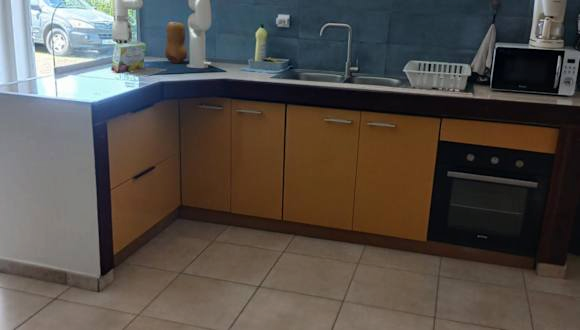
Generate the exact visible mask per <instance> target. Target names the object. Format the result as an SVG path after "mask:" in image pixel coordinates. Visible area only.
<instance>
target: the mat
mask: <svg viewBox="0 0 580 330" xmlns="http://www.w3.org/2000/svg"><path fill="white" fill-rule="evenodd" d="M166 70H167V69H164V68H162V69H161V68H152V67H145V68H144V67H143V69H139V70H132V71H128V72H127V73H126V72H125V75H126V76H128V75H129V76H139V77H140V76H141V77H151V76H154V75H157V74H160V72H161V73H162V72H163V71H164V72H167V71H166ZM164 72H163V73H164Z"/></svg>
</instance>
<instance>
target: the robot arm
mask: <svg viewBox="0 0 580 330" xmlns="http://www.w3.org/2000/svg"><path fill="white" fill-rule="evenodd" d="M112 2H113V3H112V4H113V5H112V6H113V22H112V26H111V27H112V28H111V37H112V42H115V43H116V44H123V43H132V39H133V33H132V32H133V31H132V26H131V22H130V20H131V18H130V17H129V10H134V11H137V10H141V9H142V7H143V5H144V2H143V0H112ZM187 3H188V7H189V8H190V9H191V10H193V11H194V13H191V14H190V15H189V16H188V19H187V27H188V39H189V40H188V41H189V43H188V45H189V49H188V50H189V52H188V53H189V55H188V56H189V61H188V64H186V68H191V69H207V68H209V66H212V63H213V62H212V61H208V59H206V33H205V32H206V31H207V30H209V29H210V28H211V25H212V9H211V1H210V0H188V2H187Z"/></svg>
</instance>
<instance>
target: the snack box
mask: <svg viewBox="0 0 580 330" xmlns="http://www.w3.org/2000/svg"><path fill="white" fill-rule="evenodd" d="M146 49H147V44H146V43H144V42H142V41H133V42H132V41H131V42H129V43H123V44H118V43H116V44H114V47H113V52H112V53H113V54H112V61H111V67H110V70H111V71H112V72H114V73H118V74H120V73H124V72H125V73H126V72H133V71H137V70H138V69H139V70H140V69H144V62H145V56H146Z"/></svg>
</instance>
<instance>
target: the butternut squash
mask: <svg viewBox="0 0 580 330" xmlns="http://www.w3.org/2000/svg"><path fill="white" fill-rule="evenodd" d="M185 40H186V27H185V25H184V24H183V23H181V22H178V21H177V22H176V21H170V22H168V23H167V25H166V44H165V45H166V46H165V48H164V55H165V58H166V59H167V60H168V61H169V62H172V63H174V64H177V63H179V64H180V63H183V62H185V61H186V59H187V57H188V49H187V46H186V45H185V44H186V43H185Z"/></svg>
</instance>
